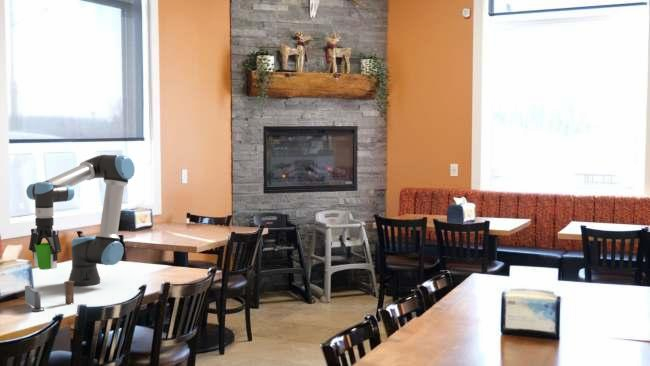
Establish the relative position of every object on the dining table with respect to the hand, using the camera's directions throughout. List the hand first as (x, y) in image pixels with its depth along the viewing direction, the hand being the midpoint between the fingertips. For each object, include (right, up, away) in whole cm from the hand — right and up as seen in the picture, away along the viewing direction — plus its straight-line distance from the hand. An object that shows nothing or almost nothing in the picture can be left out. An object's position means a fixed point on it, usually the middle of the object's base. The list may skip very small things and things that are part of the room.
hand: (45, 267), depth 343 cm
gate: (-2, -15, -11) cm, 19 cm away
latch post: (+12, -16, -3) cm, 20 cm away
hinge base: (+3, -16, -17) cm, 24 cm away
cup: (0, -1, 0) cm, 1 cm away
